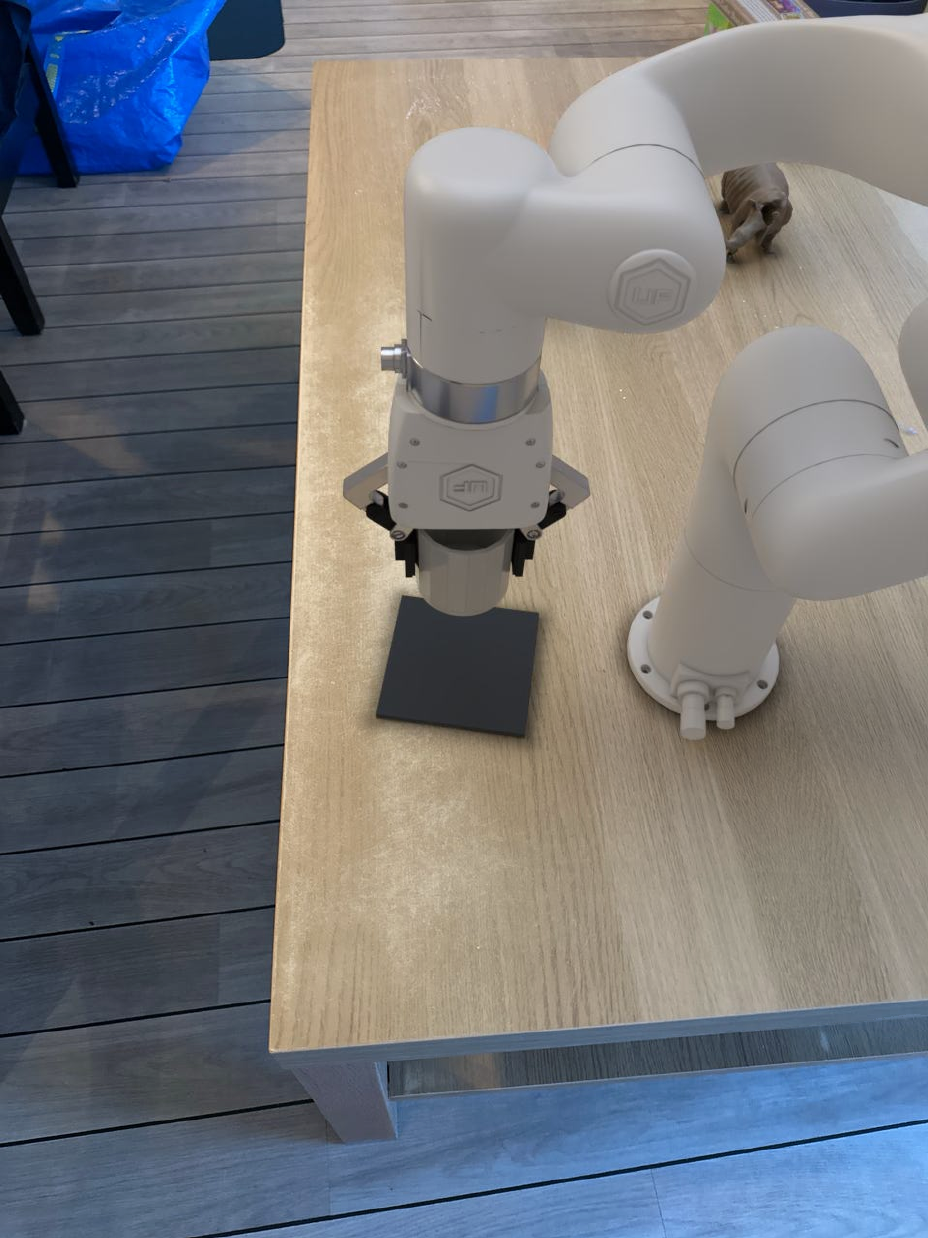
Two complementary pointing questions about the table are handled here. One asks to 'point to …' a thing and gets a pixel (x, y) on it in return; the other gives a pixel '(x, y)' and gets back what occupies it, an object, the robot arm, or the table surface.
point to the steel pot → (463, 568)
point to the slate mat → (460, 668)
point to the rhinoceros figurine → (755, 205)
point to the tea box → (753, 13)
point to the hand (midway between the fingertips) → (463, 560)
